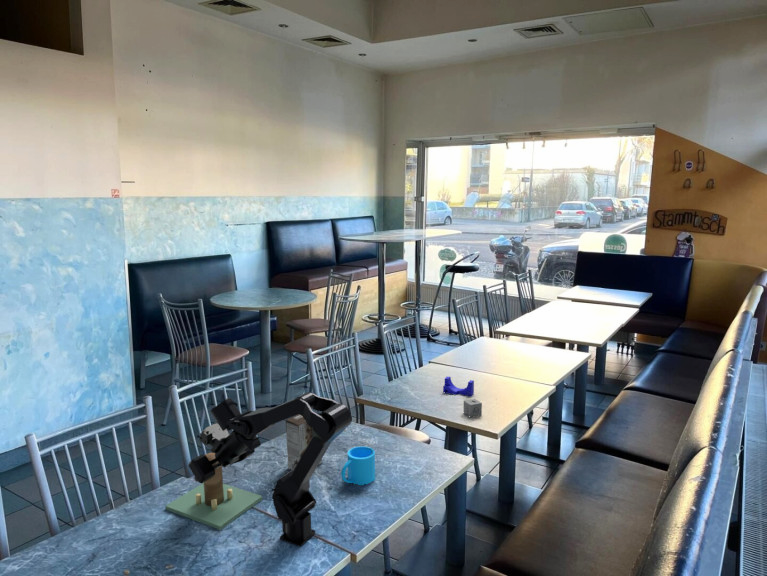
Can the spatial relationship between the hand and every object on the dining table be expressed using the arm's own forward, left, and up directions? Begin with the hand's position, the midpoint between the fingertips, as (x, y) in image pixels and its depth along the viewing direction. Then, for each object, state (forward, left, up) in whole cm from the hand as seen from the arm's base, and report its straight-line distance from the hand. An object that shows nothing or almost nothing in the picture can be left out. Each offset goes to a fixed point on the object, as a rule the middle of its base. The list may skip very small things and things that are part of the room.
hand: (209, 472), depth 150 cm
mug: (-29, -29, -9) cm, 42 cm away
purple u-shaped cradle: (-30, -111, -9) cm, 115 cm away
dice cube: (-43, -92, -9) cm, 102 cm away
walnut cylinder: (-1, 0, -8) cm, 8 cm away
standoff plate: (-1, 0, -9) cm, 9 cm away
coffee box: (-10, -29, -9) cm, 32 cm away
